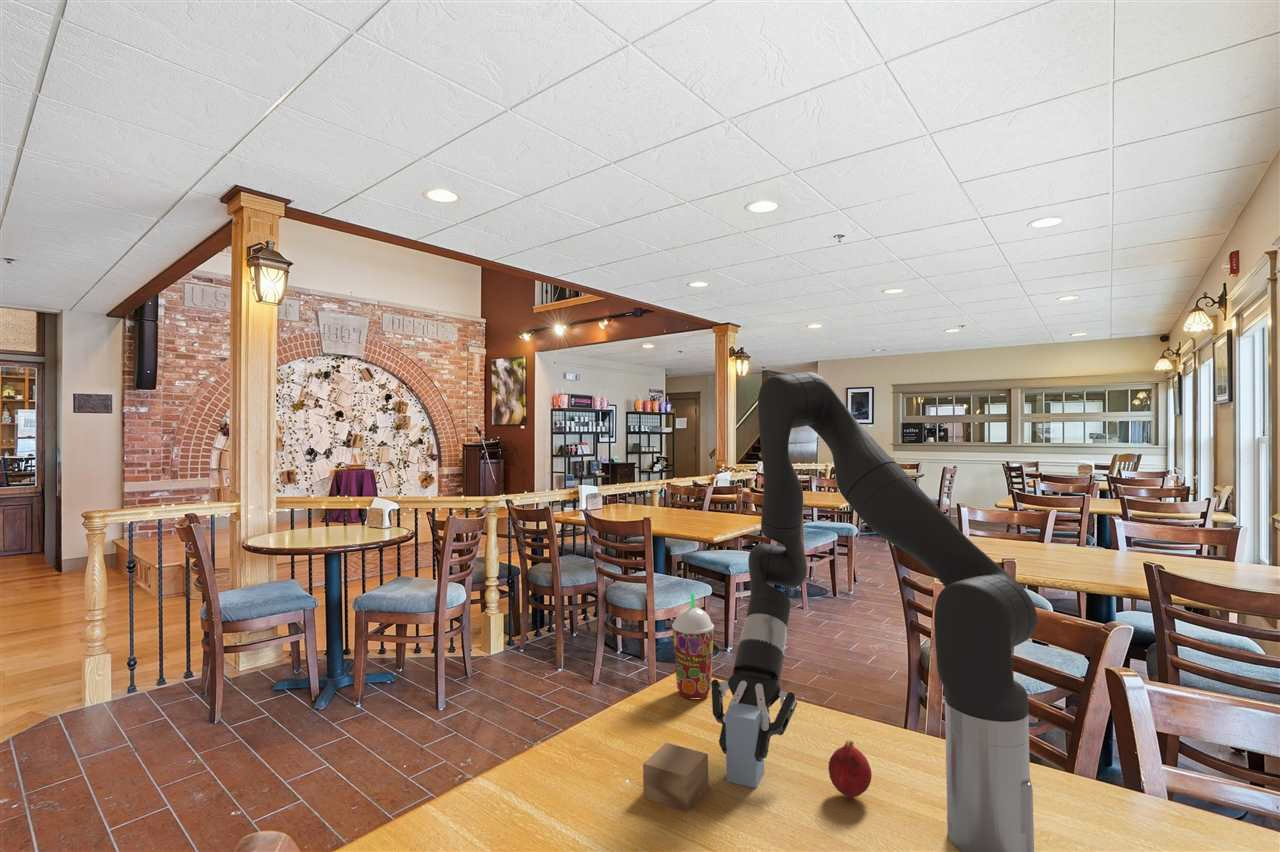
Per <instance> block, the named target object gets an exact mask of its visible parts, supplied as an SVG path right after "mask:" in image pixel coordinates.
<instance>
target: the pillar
mask: <svg viewBox="0 0 1280 852" xmlns="http://www.w3.org/2000/svg"><path fill="white" fill-rule="evenodd" d="M726 711H727V710H726ZM761 711H762V709H759V708H758V706H753V705H748V704H742V703H739V704H733V705H732V706H731V707H730V709H729V710H728V711H727V713H726V712H725V713H726V748H727V752H726V754H725V757H726V758H725V759H726V760H725V763H726V764H725V765H726V782H729V783H732V784H737V785H742V786H744V787H745V786H746V787H750V788H752V789H753V788H754V789H757V788H758V785H759V784H760V782H761V779H762V777H763V776H764V774H765V758H763V759H762V762H759V761H757V760H756V758H755V751H756V745H757V740H758V734H759V731H761V723H760V721H761Z"/></svg>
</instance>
